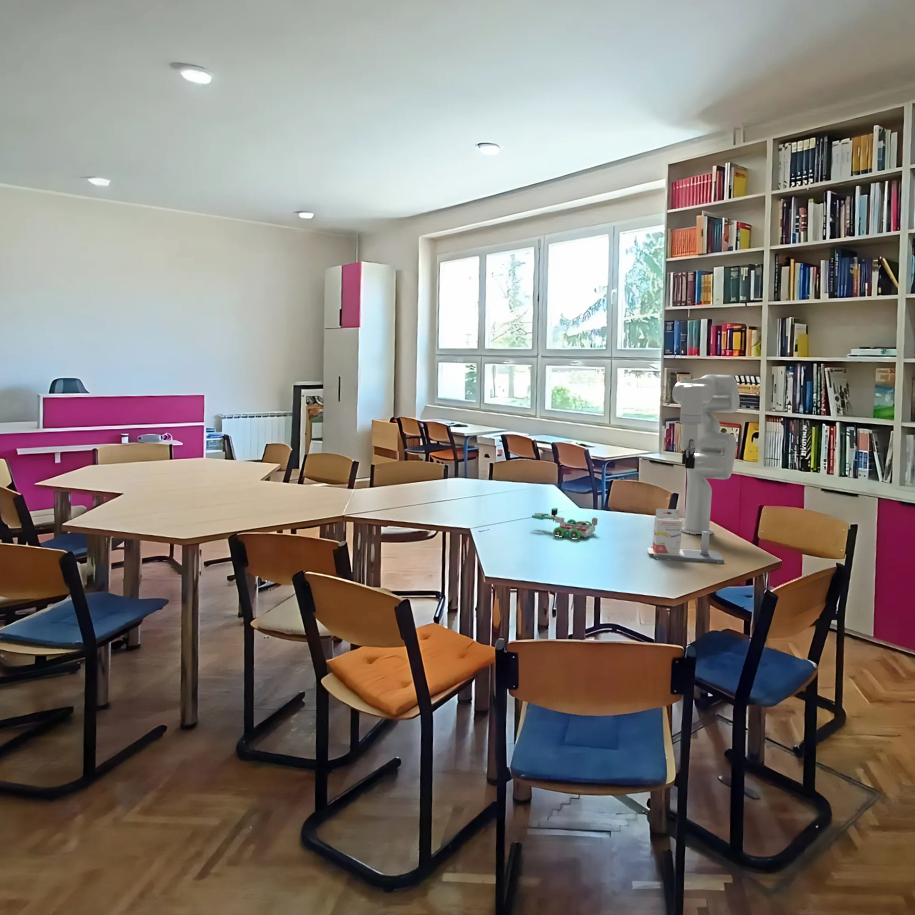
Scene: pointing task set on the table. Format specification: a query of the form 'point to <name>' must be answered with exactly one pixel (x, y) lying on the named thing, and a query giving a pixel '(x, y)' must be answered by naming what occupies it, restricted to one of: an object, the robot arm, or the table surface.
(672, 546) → the ink cartridge box
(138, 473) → the table surface
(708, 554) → the plate
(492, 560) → the table surface
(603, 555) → the table surface
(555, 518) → the robot kit
